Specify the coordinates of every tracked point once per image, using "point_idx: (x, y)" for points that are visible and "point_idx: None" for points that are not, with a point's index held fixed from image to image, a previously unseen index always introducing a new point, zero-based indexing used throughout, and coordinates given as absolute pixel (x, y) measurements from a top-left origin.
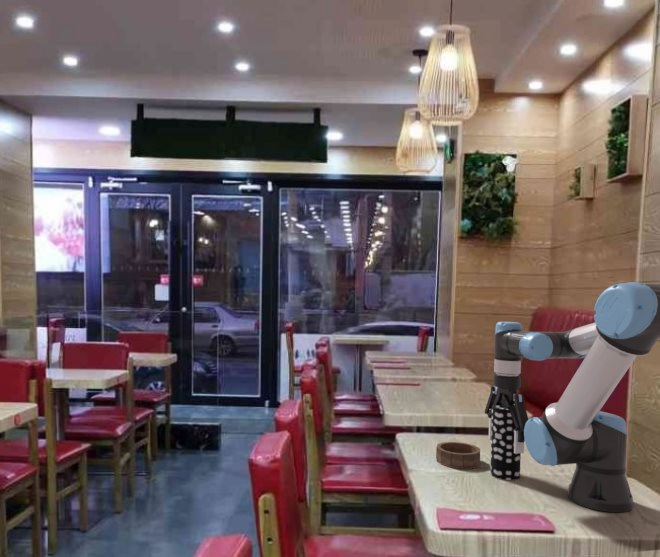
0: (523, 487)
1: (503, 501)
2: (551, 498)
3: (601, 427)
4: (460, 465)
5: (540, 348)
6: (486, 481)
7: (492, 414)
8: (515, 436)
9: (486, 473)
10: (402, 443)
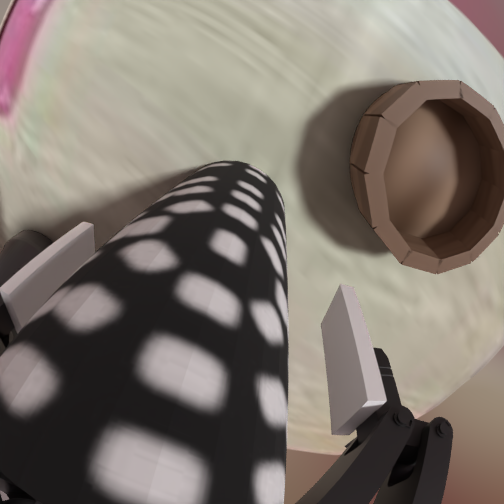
0: (119, 187)
1: (66, 62)
2: (54, 201)
3: None
4: (370, 107)
5: None
6: (202, 98)
7: (147, 408)
8: (26, 267)
9: (276, 162)
10: None
